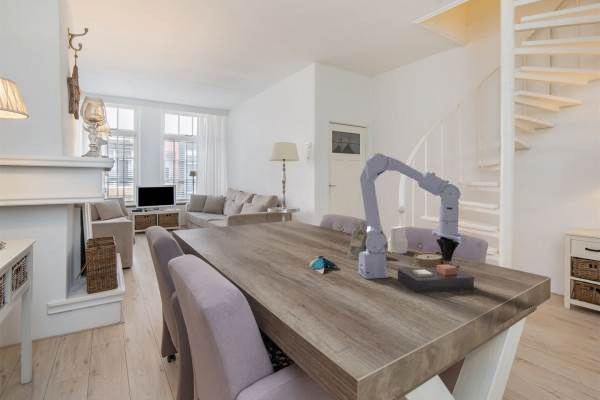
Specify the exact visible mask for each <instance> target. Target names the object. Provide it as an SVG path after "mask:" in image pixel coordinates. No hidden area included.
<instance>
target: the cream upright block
mask: <svg viewBox="0 0 600 400" xmlns="http://www.w3.org/2000/svg"><path fill="white" fill-rule="evenodd" d="M406 228H407V227H406V226H405V225H398V226H393V227H392V226H391V227H390V237H388V243H387V244H388V245H387V251H388V252H389V251H390V252H389V253H392V252H394V253H393V254H407V253H408V246H409V244H408V243H409V240H408V239H407V238H406V234H407V233H406V232H407V229H406ZM406 252H407V253H406Z"/></svg>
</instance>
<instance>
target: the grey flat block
mask: <svg viewBox="0 0 600 400" xmlns="http://www.w3.org/2000/svg"><path fill="white" fill-rule="evenodd" d="M424 269H425V270H427V271H429V272H431V273H433V274H432V276H423V277H419V276H418V275H416V274H414V273H413V270H424ZM397 281H398V282H399V283H401V284H402V285H404V286H405V287H407V288H408V289H409V290H411V291H413V292H414V293H416V294H424V293H425V294H426V293H427V294H428V293H439V292H453V291H454V292H455V291H469V290H474V287H475V285H474V284H475V283H474V282H475V276H473V275H471V274H469V273H466V272H463V271H461V270H458V269H457V274H455V275H443V274H441V273H439V272H437V267H417V268H416V267H415V268H399V269H397Z"/></svg>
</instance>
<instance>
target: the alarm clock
mask: <svg viewBox="0 0 600 400" xmlns="http://www.w3.org/2000/svg"><path fill="white" fill-rule="evenodd" d="M411 259H412V260H413V263H414V264H415V265H417V266H419V267H420V266H421V267H422V268H430V267H437V265H446V264H448V265H449V263H450V262H453V261H452V260H453V258H452V259H451V261H444V260H443V257H442V253H441V251H436V252H433V253H432V252H419V253H416V254H414V255H413V257H411Z"/></svg>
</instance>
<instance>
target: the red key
mask: <svg viewBox="0 0 600 400" xmlns="http://www.w3.org/2000/svg"><path fill="white" fill-rule="evenodd" d="M457 270H458V267H456V266H453V265H451V264H449V263H448V264H446V265H437V272H439V273H441V274H443V275H455V274H457Z"/></svg>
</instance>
